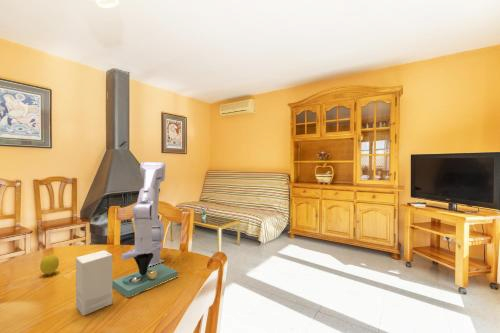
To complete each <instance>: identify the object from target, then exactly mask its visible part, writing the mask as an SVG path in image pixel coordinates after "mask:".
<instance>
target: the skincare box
mask: <svg viewBox="0 0 500 333" xmlns="http://www.w3.org/2000/svg"><path fill="white" fill-rule="evenodd" d="M112 281H113V254H112V253H110V252H108V251H107V250H105V249H104V250H100V251H95V252H92V253H88V254H84V255H81V256H76V257H75V301H76V302H75V307H76V309H77V310H78V311H79V313H80V315H82V316H83V317H85V316H87V315H89V314H91V313H94V312H96V311H98V310H101V309H103V308H106V307H108V306H110V305H112V304H113V288H112ZM105 306H106V307H105ZM86 314H87V315H86Z"/></svg>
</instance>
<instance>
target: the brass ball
mask: <svg viewBox="0 0 500 333" xmlns="http://www.w3.org/2000/svg"><path fill="white" fill-rule="evenodd" d="M156 277H157V271H155V270H151V271H149V273H148V278H149V279H150V280H153V279H155V278H156Z"/></svg>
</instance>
